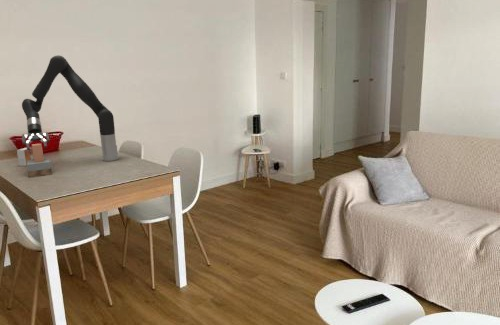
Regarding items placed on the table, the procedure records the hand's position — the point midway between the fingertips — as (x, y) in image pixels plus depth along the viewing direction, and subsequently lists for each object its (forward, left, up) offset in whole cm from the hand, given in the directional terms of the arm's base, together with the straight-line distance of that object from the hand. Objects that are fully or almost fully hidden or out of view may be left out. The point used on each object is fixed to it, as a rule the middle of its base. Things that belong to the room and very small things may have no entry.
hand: (37, 148), depth 246 cm
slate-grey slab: (0, 0, -12) cm, 12 cm away
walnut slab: (0, 0, -16) cm, 16 cm away
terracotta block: (0, -1, -8) cm, 8 cm away
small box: (+8, -33, -15) cm, 38 cm away
